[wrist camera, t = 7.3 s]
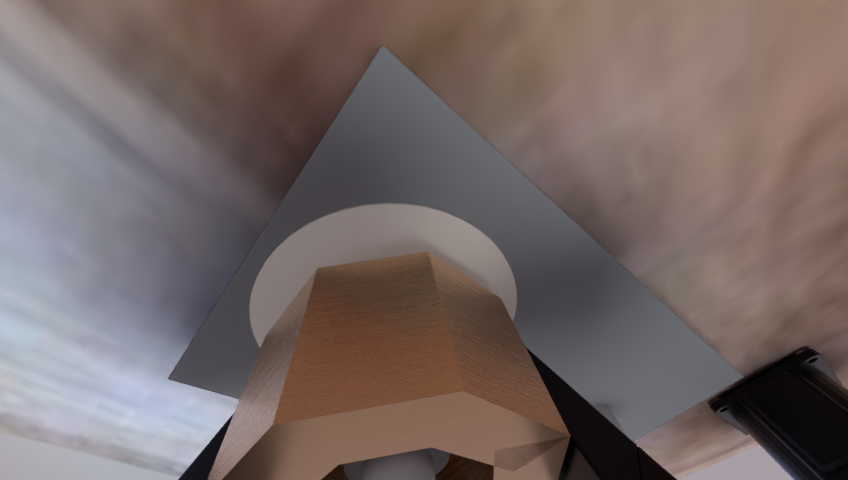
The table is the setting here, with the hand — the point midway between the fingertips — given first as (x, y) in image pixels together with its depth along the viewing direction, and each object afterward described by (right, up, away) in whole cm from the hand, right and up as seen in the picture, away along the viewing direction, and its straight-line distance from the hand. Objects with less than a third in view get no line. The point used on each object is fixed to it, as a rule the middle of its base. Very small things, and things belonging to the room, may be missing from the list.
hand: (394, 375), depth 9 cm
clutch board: (+4, -1, +6) cm, 7 cm away
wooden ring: (0, 0, +1) cm, 1 cm away
